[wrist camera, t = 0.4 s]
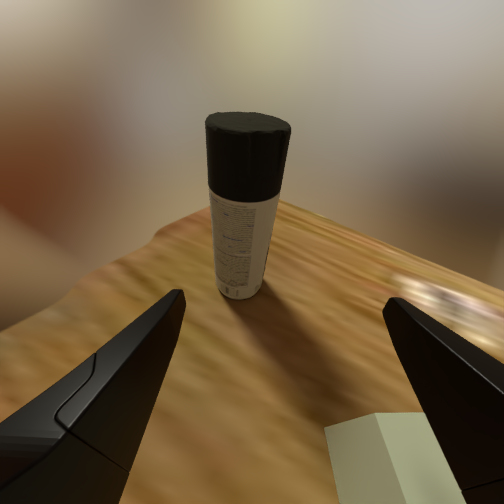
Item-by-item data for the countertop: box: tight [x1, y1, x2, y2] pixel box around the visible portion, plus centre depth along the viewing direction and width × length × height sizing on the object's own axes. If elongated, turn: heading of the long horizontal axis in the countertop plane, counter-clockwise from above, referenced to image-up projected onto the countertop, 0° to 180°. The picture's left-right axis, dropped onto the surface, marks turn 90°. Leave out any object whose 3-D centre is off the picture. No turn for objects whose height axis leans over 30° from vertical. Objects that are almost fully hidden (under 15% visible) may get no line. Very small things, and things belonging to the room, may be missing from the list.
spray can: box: [205, 112, 291, 300], centre depth 22 cm, size 7×7×20 cm
